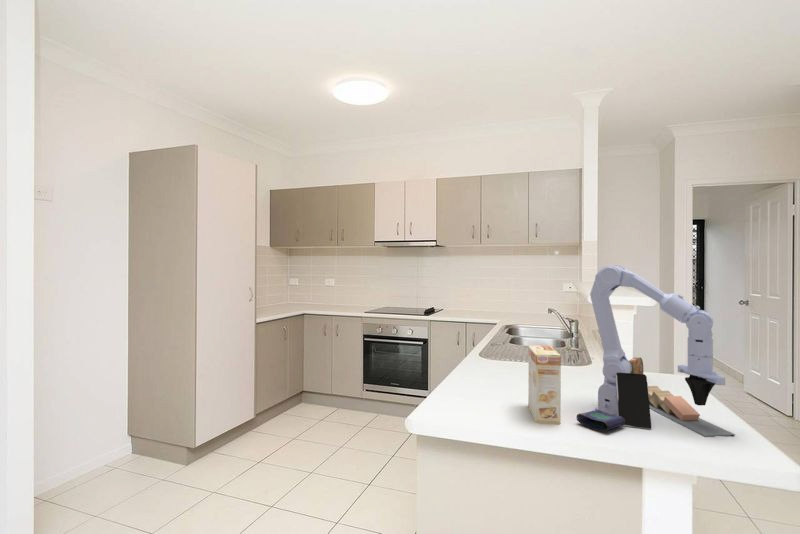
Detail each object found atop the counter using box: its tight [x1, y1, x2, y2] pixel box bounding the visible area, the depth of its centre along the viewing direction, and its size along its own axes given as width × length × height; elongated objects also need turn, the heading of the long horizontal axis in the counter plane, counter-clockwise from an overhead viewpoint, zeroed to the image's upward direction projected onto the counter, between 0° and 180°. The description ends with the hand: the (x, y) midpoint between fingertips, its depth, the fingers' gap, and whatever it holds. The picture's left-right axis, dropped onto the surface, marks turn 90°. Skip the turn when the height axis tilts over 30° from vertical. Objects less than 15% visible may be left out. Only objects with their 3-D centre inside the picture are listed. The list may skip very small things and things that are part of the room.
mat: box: [649, 403, 737, 438], centre depth 129 cm, size 34×8×1 cm, turn 4°
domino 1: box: [648, 385, 663, 408], centre depth 136 cm, size 2×5×8 cm
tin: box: [628, 357, 644, 374], centre depth 167 cm, size 15×3×8 cm, turn 139°
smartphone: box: [615, 373, 652, 430], centre depth 121 cm, size 8×1×15 cm
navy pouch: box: [576, 409, 625, 432], centre depth 119 cm, size 9×3×11 cm
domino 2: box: [652, 390, 674, 414], centre depth 131 cm, size 2×5×8 cm
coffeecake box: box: [527, 344, 562, 425], centre depth 128 cm, size 15×7×20 cm, turn 171°
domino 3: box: [663, 395, 701, 421], centre depth 126 cm, size 2×5×8 cm
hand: (700, 404), depth 119 cm, fingers closed
